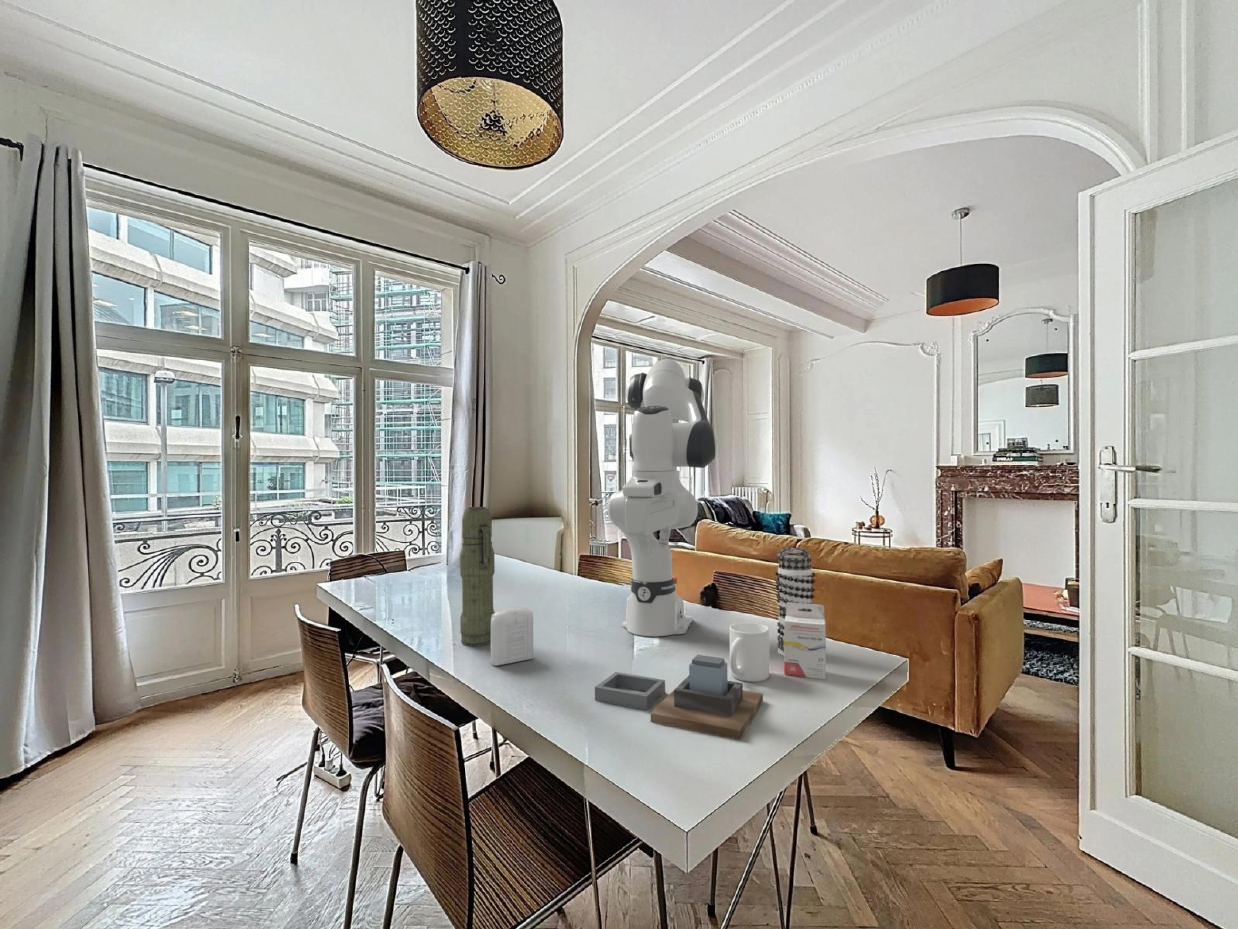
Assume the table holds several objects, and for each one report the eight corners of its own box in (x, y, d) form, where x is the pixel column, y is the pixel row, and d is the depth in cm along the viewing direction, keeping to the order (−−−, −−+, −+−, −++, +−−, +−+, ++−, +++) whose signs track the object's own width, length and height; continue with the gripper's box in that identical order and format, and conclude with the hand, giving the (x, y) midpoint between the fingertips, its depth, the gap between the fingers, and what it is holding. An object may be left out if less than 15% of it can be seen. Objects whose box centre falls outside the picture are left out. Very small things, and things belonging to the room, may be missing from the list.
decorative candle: (816, 661, 130) (815, 552, 130) (774, 657, 133) (773, 550, 133) (816, 649, 139) (815, 547, 139) (777, 645, 142) (775, 545, 142)
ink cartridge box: (784, 675, 122) (783, 606, 122) (785, 667, 126) (784, 601, 126) (826, 680, 119) (825, 609, 119) (826, 671, 124) (825, 604, 124)
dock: (683, 687, 116) (683, 665, 116) (763, 701, 108) (762, 677, 108) (650, 721, 100) (650, 696, 100) (740, 739, 93) (739, 712, 93)
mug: (749, 691, 113) (748, 639, 113) (713, 681, 119) (712, 632, 119) (776, 674, 122) (775, 626, 122) (742, 666, 128) (741, 620, 128)
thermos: (480, 632, 156) (479, 505, 157) (505, 641, 148) (503, 507, 148) (451, 639, 150) (449, 507, 150) (475, 649, 142) (474, 509, 142)
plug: (696, 696, 108) (696, 653, 108) (727, 701, 105) (727, 658, 105) (689, 704, 104) (689, 660, 104) (721, 709, 101) (721, 665, 101)
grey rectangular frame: (615, 684, 118) (615, 671, 118) (665, 692, 113) (664, 680, 113) (594, 700, 110) (594, 687, 110) (646, 710, 105) (646, 696, 105)
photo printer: (528, 654, 138) (528, 603, 138) (536, 659, 134) (535, 606, 134) (488, 662, 132) (487, 609, 132) (494, 668, 128) (494, 613, 128)
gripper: (658, 481, 128) (659, 542, 128) (618, 488, 109) (620, 559, 110) (685, 481, 125) (686, 543, 125) (648, 488, 107) (650, 561, 107)
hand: (655, 551), depth 117 cm, fingers open, 8 cm apart
